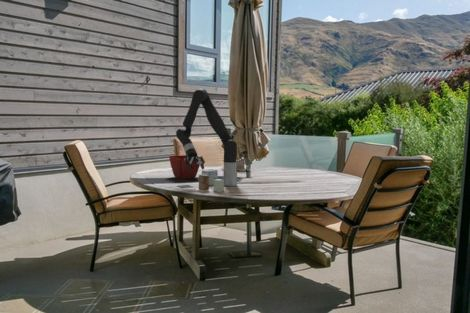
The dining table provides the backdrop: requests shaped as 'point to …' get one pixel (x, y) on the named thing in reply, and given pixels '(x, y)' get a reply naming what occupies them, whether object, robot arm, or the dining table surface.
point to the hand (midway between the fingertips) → (197, 169)
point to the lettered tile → (204, 190)
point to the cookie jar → (239, 165)
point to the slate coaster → (184, 186)
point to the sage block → (218, 185)
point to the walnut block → (203, 182)
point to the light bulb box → (211, 175)
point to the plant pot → (183, 167)
